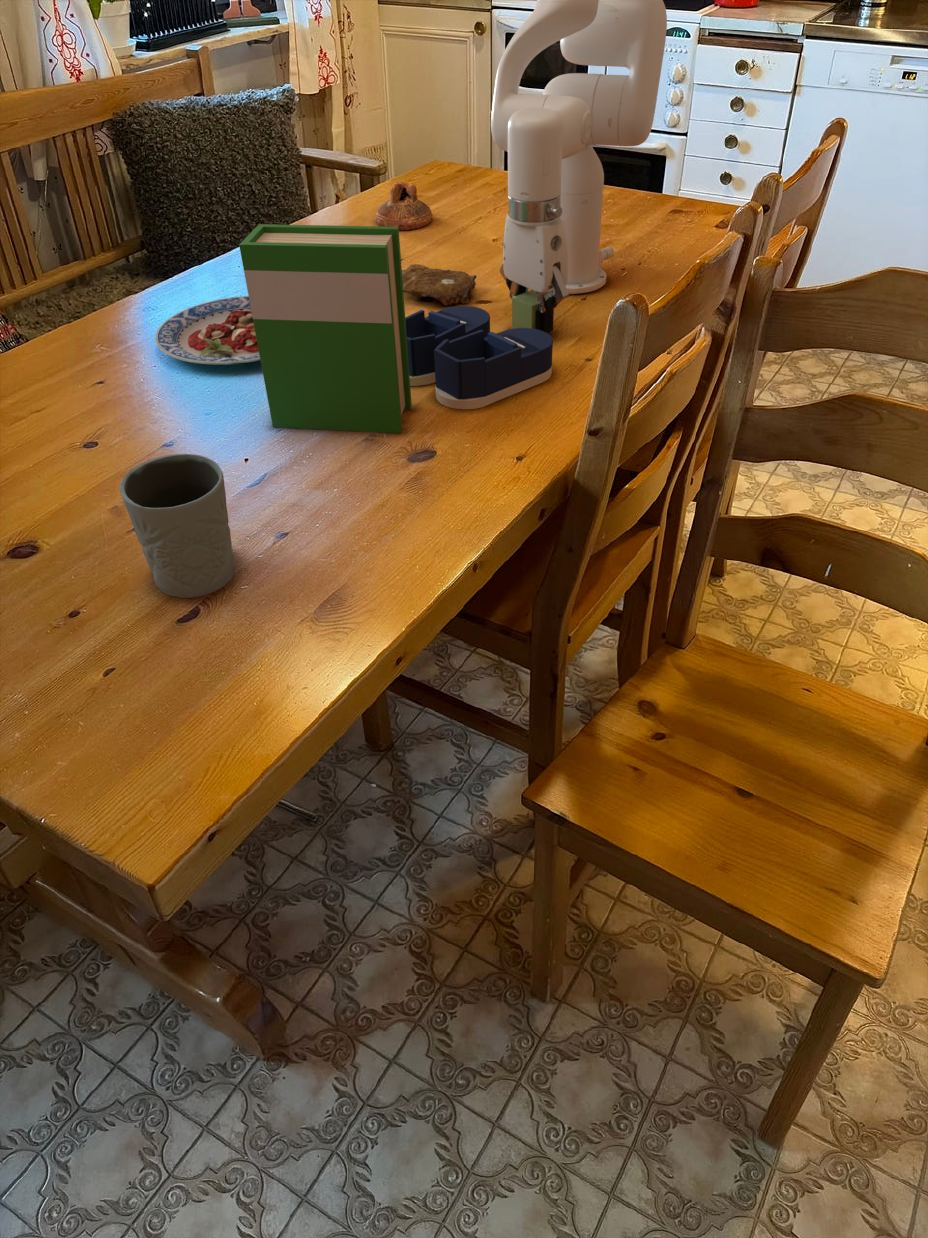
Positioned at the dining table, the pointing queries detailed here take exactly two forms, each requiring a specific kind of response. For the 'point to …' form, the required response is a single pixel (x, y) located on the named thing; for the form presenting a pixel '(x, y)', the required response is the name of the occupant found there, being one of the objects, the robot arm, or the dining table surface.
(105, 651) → the dining table surface
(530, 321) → the green block
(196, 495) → the grey embossed cup
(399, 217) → the bell
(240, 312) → the ceramic plate
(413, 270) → the decorative rock
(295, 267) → the hardback book
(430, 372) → the sneaker
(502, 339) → the sneaker
